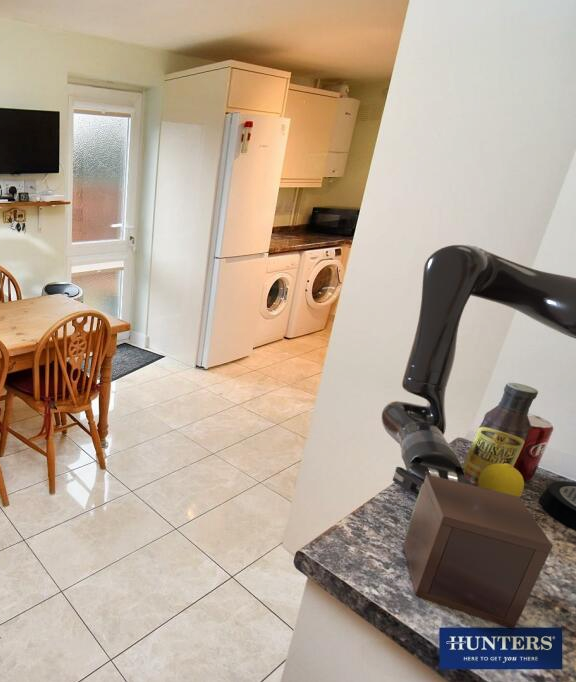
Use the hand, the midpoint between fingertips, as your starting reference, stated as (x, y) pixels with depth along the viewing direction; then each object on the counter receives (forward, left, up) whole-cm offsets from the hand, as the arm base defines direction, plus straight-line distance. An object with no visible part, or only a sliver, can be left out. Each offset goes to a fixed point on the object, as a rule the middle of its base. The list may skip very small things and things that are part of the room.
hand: (454, 518), depth 65 cm
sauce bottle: (-28, -4, -7) cm, 29 cm away
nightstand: (+5, +3, -6) cm, 9 cm away
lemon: (-22, -1, -7) cm, 23 cm away
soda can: (-36, -3, -7) cm, 37 cm away
